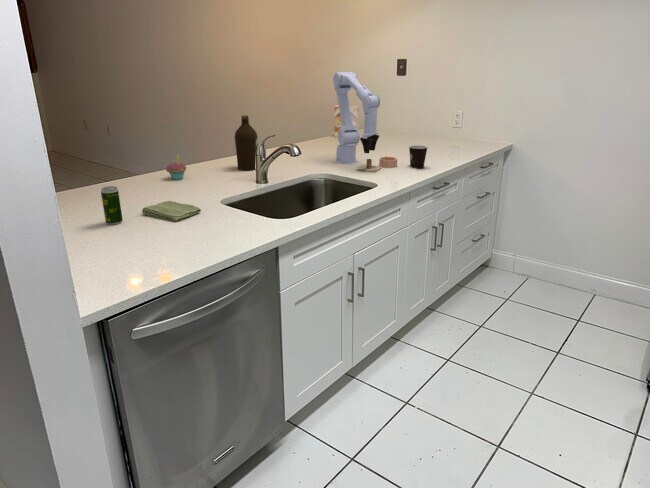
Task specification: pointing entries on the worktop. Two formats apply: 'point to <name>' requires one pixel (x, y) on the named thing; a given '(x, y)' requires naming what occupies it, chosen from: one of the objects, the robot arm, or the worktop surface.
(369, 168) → the lid
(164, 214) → the washcloth
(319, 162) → the worktop surface
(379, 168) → the mat
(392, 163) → the bowl
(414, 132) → the worktop surface
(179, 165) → the cupcake
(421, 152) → the coffee mug
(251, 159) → the olive oil
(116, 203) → the beer can
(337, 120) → the coffeecake box
